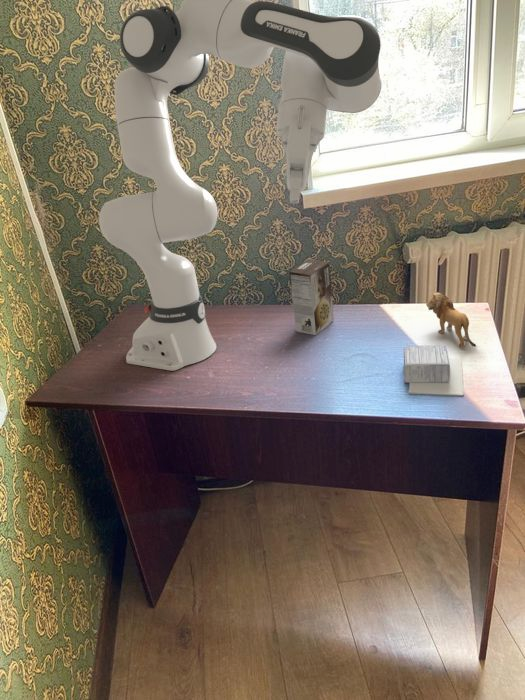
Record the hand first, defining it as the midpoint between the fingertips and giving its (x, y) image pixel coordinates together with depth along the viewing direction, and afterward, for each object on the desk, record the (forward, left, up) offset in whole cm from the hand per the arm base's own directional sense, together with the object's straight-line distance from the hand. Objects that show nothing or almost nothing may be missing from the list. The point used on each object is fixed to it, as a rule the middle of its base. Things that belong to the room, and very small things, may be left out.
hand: (294, 201), depth 98 cm
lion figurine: (+29, +19, -38) cm, 51 cm away
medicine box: (+19, +2, -35) cm, 40 cm away
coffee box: (-4, +23, -38) cm, 44 cm away
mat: (+26, +1, -37) cm, 45 cm away
